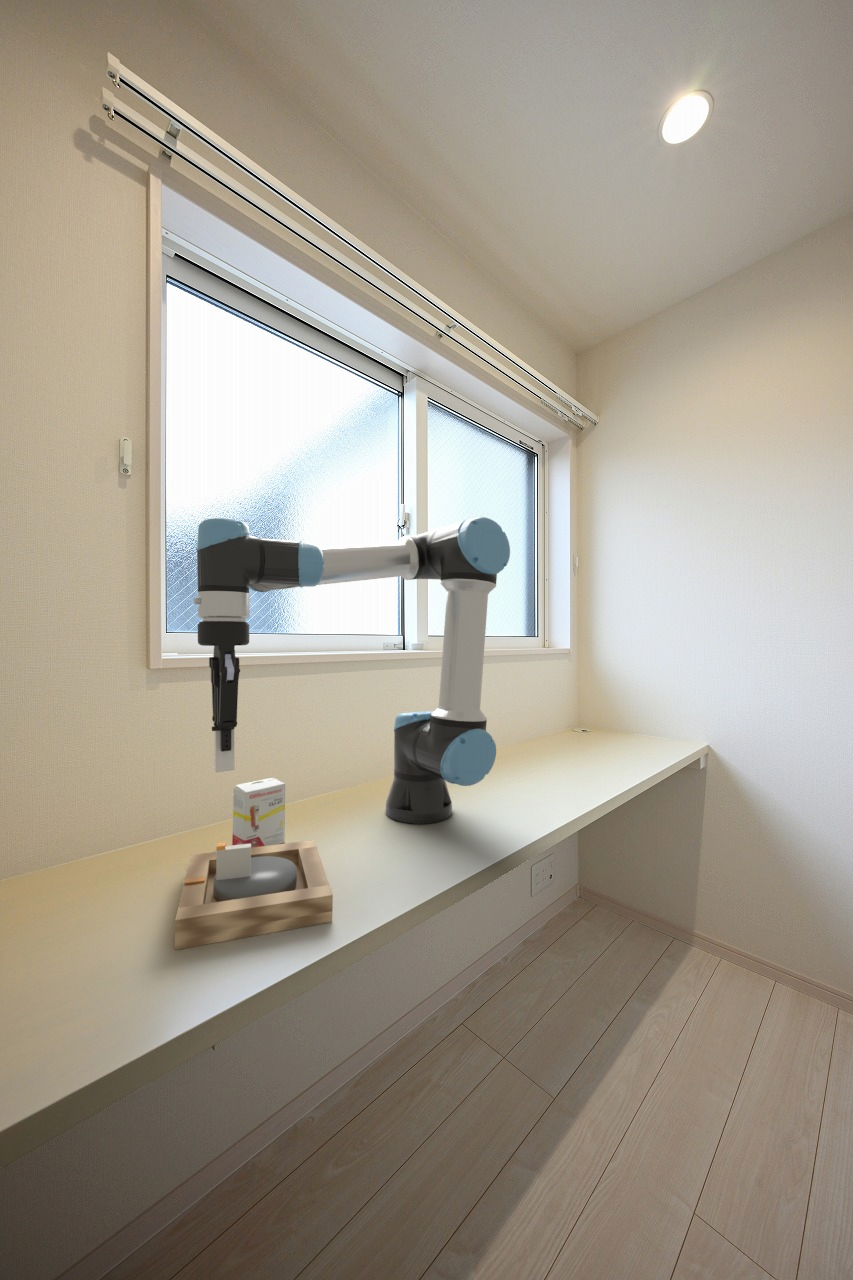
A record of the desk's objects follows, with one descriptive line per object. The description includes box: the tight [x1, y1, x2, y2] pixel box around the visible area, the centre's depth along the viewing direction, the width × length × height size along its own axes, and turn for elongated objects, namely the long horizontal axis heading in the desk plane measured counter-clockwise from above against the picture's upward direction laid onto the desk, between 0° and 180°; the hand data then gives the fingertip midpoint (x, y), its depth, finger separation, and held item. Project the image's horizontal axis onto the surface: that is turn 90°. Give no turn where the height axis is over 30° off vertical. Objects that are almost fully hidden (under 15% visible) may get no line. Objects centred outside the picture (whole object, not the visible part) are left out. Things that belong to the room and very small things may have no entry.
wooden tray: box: [174, 839, 334, 951], centre depth 77 cm, size 20×20×4 cm
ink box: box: [231, 777, 286, 848], centre depth 96 cm, size 9×5×12 cm, turn 137°
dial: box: [213, 841, 297, 902], centre depth 77 cm, size 12×12×7 cm
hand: (224, 770), depth 80 cm, fingers closed
